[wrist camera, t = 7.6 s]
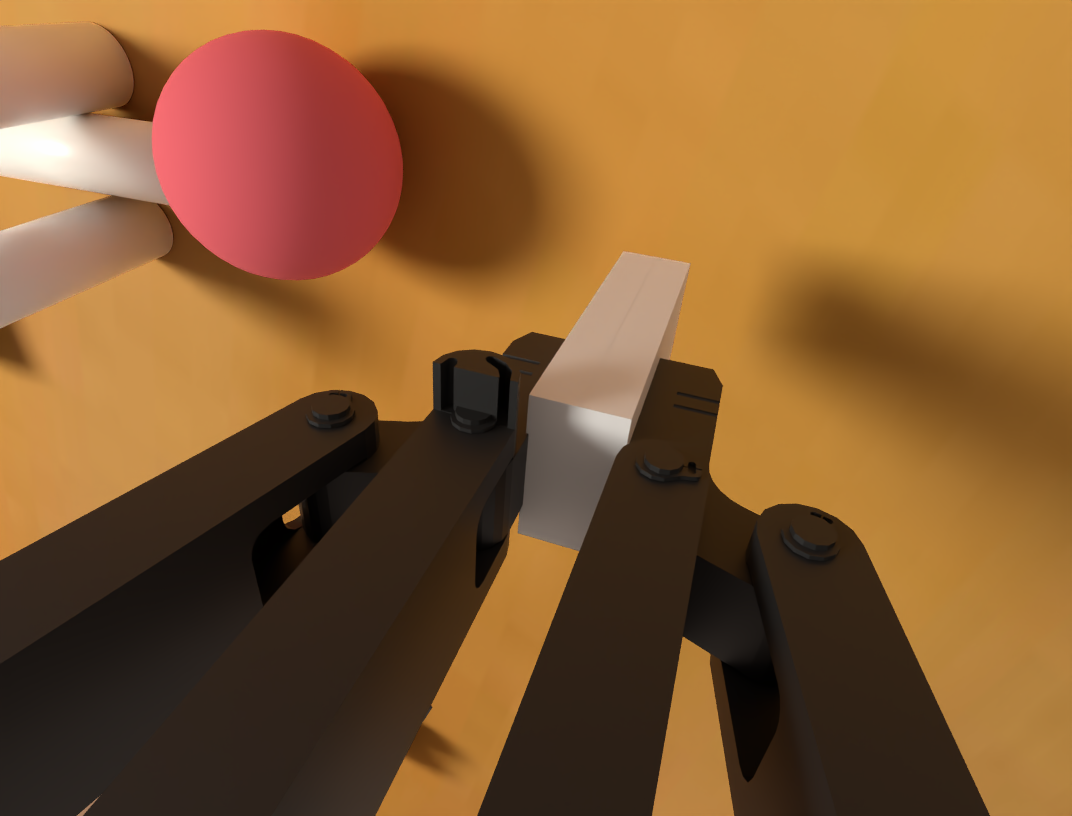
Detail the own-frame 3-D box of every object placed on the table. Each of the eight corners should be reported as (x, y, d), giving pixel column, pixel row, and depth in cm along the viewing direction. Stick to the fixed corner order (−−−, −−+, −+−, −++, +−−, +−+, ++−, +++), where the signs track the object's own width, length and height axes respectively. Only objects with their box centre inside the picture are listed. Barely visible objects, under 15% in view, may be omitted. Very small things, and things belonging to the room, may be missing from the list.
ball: (149, 11, 17) (375, 74, 20) (146, 245, 19) (355, 269, 22) (158, -30, 12) (454, 61, 15) (154, 290, 14) (419, 312, 17)
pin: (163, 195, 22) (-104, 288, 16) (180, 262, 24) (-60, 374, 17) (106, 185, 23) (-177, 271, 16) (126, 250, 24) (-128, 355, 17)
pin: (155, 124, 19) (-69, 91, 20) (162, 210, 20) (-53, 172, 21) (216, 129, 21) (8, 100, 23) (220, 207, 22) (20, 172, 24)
